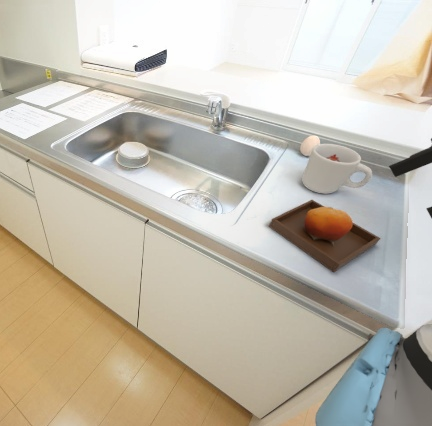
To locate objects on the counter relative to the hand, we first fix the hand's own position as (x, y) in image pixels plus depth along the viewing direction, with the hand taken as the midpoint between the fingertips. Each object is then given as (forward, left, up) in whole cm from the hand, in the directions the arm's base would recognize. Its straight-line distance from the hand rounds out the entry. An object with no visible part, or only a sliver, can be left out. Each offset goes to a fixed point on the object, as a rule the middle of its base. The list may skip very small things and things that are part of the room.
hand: (408, 191), depth 52 cm
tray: (+6, +7, -14) cm, 17 cm away
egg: (+30, -23, -14) cm, 40 cm away
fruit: (+6, +7, -13) cm, 16 cm away
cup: (+16, -11, -14) cm, 24 cm away
